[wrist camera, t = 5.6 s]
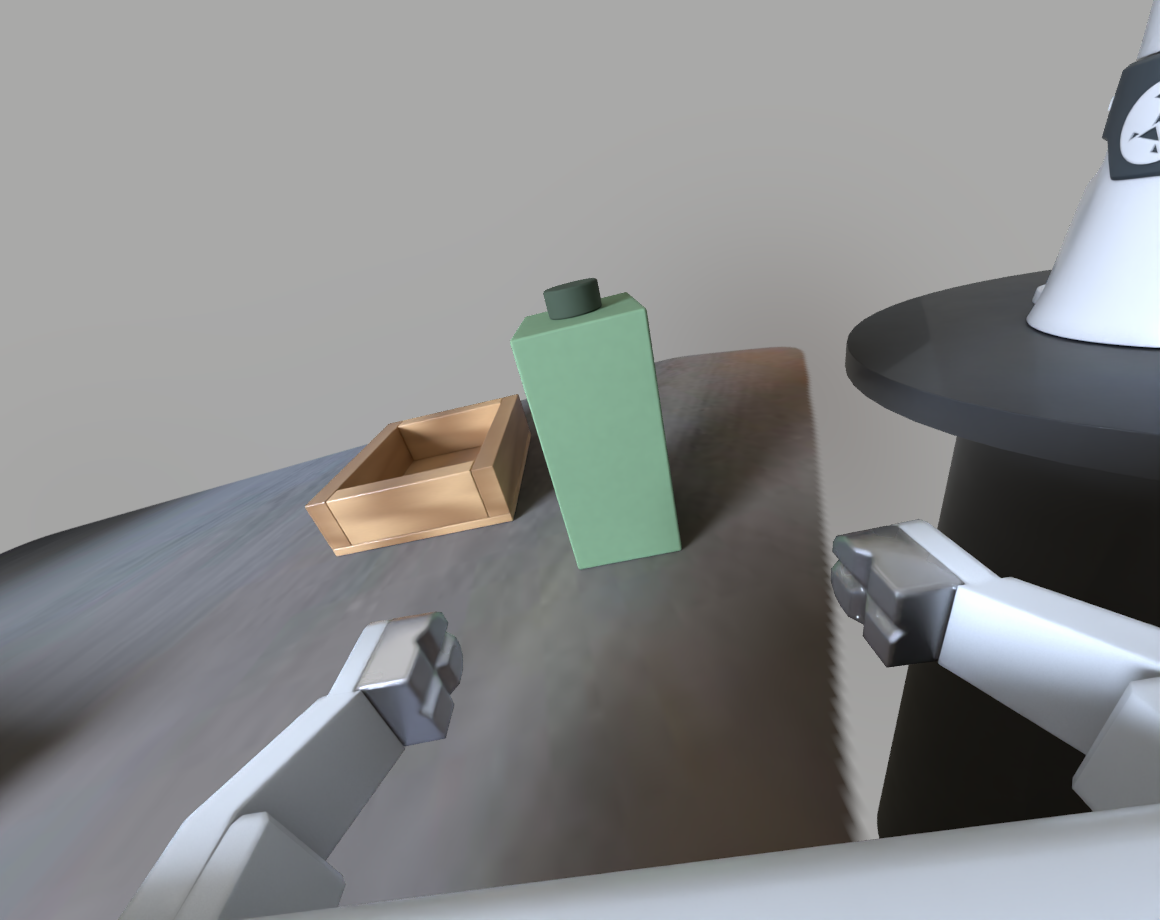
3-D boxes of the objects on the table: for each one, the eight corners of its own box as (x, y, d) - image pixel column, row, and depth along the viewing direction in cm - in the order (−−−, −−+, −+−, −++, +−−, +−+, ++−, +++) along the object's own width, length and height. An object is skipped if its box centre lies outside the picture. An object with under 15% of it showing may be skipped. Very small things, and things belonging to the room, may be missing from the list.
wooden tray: (531, 435, 33) (518, 393, 31) (513, 521, 22) (492, 465, 21) (407, 462, 33) (388, 423, 32) (336, 556, 23) (303, 506, 22)
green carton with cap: (659, 489, 22) (623, 266, 17) (682, 551, 18) (641, 273, 13) (577, 505, 22) (517, 292, 17) (578, 570, 18) (499, 308, 13)
